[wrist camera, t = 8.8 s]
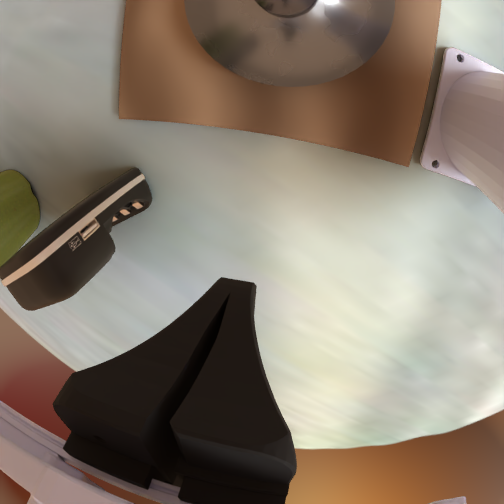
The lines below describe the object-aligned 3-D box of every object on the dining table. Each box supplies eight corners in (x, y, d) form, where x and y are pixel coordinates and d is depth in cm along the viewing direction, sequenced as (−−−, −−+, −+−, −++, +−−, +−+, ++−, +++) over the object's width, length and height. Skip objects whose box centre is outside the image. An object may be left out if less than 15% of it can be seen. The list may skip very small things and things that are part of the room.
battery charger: (108, 235, 26) (22, 324, 16) (85, 198, 24) (-12, 277, 15) (167, 207, 23) (73, 310, 13) (142, 162, 21) (28, 245, 12)
